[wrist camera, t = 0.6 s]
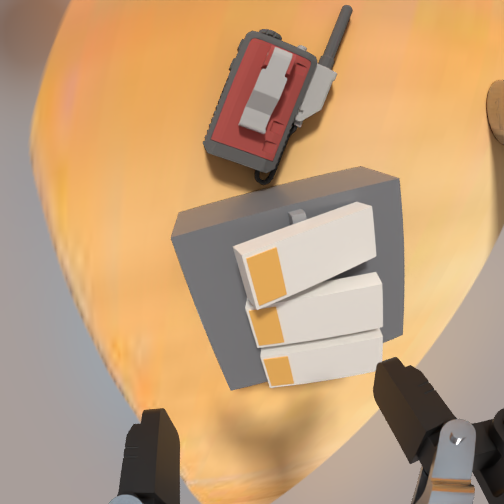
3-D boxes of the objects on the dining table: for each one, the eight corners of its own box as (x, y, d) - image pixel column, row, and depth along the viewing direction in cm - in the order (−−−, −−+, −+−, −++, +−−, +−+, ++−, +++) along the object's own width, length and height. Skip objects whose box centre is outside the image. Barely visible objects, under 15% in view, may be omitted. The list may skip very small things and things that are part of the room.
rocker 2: (377, 323, 25) (383, 337, 23) (377, 356, 26) (382, 370, 24) (261, 342, 26) (260, 357, 25) (270, 373, 28) (270, 388, 26)
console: (360, 166, 29) (406, 180, 22) (373, 304, 35) (406, 343, 28) (174, 213, 28) (163, 244, 21) (223, 349, 35) (228, 401, 27)
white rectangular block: (356, 201, 23) (372, 206, 21) (361, 249, 24) (377, 256, 23) (232, 246, 20) (242, 255, 19) (247, 298, 22) (257, 310, 20)
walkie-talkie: (283, 190, 29) (352, 15, 23) (296, 201, 25) (373, 2, 19) (194, 160, 27) (271, -22, 21) (192, 165, 23) (281, -42, 17)
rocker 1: (376, 271, 23) (382, 284, 21) (377, 313, 24) (383, 327, 23) (247, 294, 24) (245, 308, 23) (259, 333, 26) (257, 348, 24)
